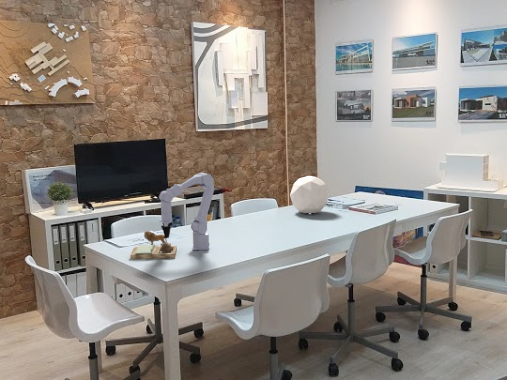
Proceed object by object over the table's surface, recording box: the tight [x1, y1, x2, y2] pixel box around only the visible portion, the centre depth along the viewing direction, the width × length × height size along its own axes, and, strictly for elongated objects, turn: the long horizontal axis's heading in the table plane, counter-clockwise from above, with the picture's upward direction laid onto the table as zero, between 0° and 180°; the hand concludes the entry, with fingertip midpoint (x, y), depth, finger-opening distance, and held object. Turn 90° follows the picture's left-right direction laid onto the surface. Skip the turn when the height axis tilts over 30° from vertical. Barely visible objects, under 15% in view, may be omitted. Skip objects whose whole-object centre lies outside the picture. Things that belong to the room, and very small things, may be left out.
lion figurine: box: [143, 230, 168, 246], centre depth 334 cm, size 15×5×9 cm, turn 96°
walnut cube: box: [161, 242, 172, 253], centre depth 315 cm, size 5×5×5 cm
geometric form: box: [289, 175, 330, 214], centre depth 426 cm, size 28×30×30 cm
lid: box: [135, 243, 156, 254], centre depth 314 cm, size 9×16×2 cm, turn 5°
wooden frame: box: [129, 245, 178, 260], centre depth 314 cm, size 24×17×3 cm
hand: (167, 236), depth 316 cm, fingers open, 7 cm apart
